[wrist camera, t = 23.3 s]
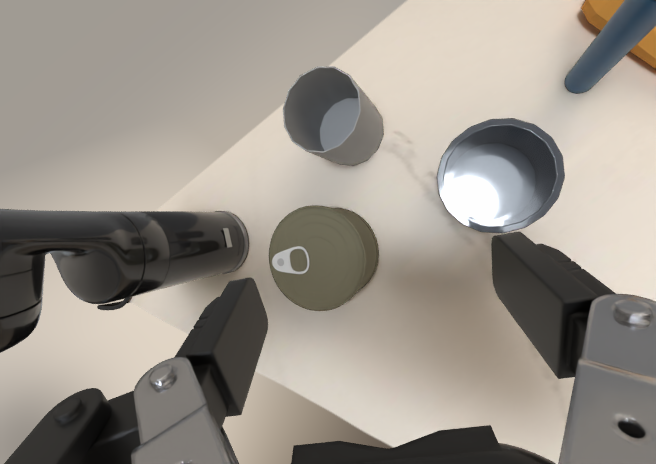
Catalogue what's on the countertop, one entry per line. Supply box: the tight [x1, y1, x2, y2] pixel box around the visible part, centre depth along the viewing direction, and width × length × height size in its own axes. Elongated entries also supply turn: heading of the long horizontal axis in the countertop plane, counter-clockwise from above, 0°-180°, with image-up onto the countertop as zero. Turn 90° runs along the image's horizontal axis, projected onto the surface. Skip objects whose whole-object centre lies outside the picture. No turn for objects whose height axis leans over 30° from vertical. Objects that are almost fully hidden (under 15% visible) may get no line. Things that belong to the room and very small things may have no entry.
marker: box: [565, 0, 656, 93], centre depth 25 cm, size 3×3×18 cm
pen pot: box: [437, 118, 565, 233], centre depth 33 cm, size 10×10×8 cm
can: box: [269, 206, 378, 311], centre depth 41 cm, size 12×12×7 cm
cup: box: [283, 67, 384, 166], centre depth 37 cm, size 8×8×10 cm
